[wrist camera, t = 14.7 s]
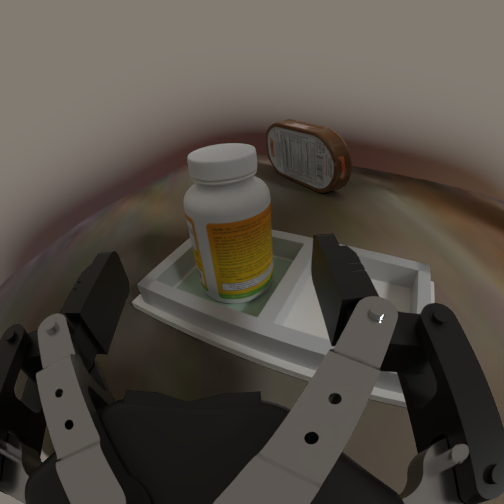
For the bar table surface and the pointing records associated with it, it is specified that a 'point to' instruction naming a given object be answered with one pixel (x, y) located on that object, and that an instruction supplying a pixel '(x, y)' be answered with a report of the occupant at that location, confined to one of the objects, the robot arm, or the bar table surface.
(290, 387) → the bar table surface
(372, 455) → the bar table surface
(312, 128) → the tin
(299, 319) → the compartment tray
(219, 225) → the supplement bottle
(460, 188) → the bar table surface
